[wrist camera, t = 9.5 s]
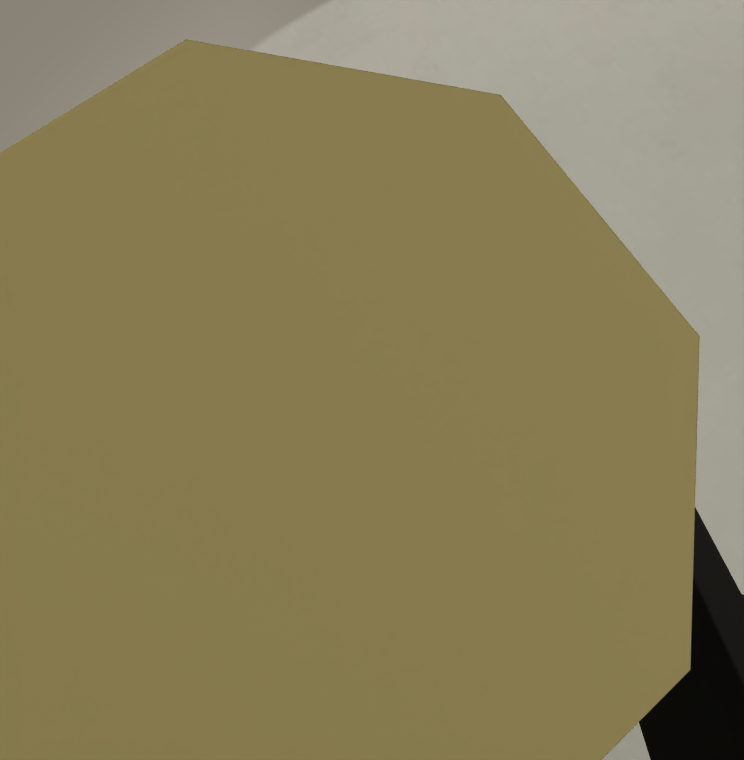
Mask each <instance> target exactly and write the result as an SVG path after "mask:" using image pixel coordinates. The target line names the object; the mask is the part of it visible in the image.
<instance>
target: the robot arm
mask: <svg viewBox="0 0 744 760" xmlns="http://www.w3.org/2000/svg"><path fill="white" fill-rule="evenodd" d="M639 724H640V727H641V730H642V733H643V736H644V740H645V743H646V746H647V749H648V752H649V756H650V759H651V760H744V595H742V594H741V593H740V591H739V589H738V587H737V585H736V583H735V581H734V579H733V578H732V576H731V574H730V572H729V570H728V568H727V566H726V564H725V563H724V561H723V559H722V557H721V555H720V553H719V551H718V549H717V547H716V546H715V544H714V542H713V540H712V538H711V536H710V534H709V532H708V531H707V529H706V527H705V525H704V523H703V521H702V519H701V517H700V515H699V514H698V512H697V510H696V508H695V521H694V557H693V593H692V629H691V665H690V671H689V672H688V673H687V674H686V675H685V676H684V677H683V678H682V679H681V680H680V681H679V682H678V683H677V684H676V685H675V686H674V687H673V688H672V689H671V690H670V691H669V692H668V693H667V694H666V695H665V696H664V697H663V698H662V699H661V700H660V701H659V702H658V703H657V704H656V705H655V706H654V707H653V708H652V709H651V710H650V711H649V712H648V713H647V714H646V715H645V716H644V717H643V718H642V719H641V720H640V721H639Z"/></svg>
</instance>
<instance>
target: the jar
mask: <svg viewBox="0 0 744 760" xmlns="http://www.w3.org/2000/svg"><path fill="white" fill-rule="evenodd" d="M699 340H700V336H699V335H698V334H697V333H696V331H695V330H694V329H693V328H692V327H691V325H690V324H689V323H688V322H687V320H686V319H685V318H684V317H683V316H682V314H681V313H680V312H679V311H678V310H677V308H676V307H675V306H674V305H673V303H672V302H671V301H670V300H669V299H668V297H667V296H666V295H665V294H664V293H663V291H662V290H661V289H660V288H659V286H658V285H657V284H656V283H655V282H654V280H653V279H652V278H651V277H650V276H649V274H648V273H647V272H646V271H645V269H644V268H643V267H642V266H641V265H640V263H639V262H638V261H637V260H636V258H635V257H634V256H633V255H632V254H631V252H630V251H629V250H628V249H627V248H626V246H625V245H624V244H623V243H622V241H621V240H620V239H619V238H618V237H617V235H616V234H615V233H614V232H613V231H612V229H611V228H610V227H609V226H608V224H607V223H606V222H605V221H604V220H603V218H602V217H601V216H600V215H599V214H598V212H597V211H596V210H595V209H594V207H593V206H592V205H591V204H590V203H589V201H588V200H587V199H586V198H585V197H584V195H583V194H582V193H581V192H580V190H579V189H578V188H577V187H576V186H575V184H574V183H573V182H572V181H571V180H570V178H569V177H568V176H567V175H566V173H565V172H564V171H563V170H562V169H561V167H560V166H559V165H558V164H557V163H556V161H555V160H554V159H553V158H552V156H551V155H550V154H549V153H548V152H547V150H546V149H545V148H544V147H543V146H542V144H541V143H540V142H539V141H538V139H537V138H536V137H535V136H534V135H533V133H532V132H531V131H530V130H529V129H528V127H527V126H526V125H525V124H524V122H523V121H522V120H521V119H520V118H519V116H518V115H517V114H516V113H515V111H514V110H513V109H512V108H511V107H510V105H509V104H508V103H507V102H506V101H505V99H504V98H503V97H502V96H501V95H498V94H493V93H487V92H481V91H476V90H470V89H464V88H459V87H453V86H447V85H442V84H436V83H430V82H425V81H419V80H413V79H408V78H402V77H396V76H391V75H385V74H379V73H374V72H368V71H362V70H357V69H351V68H345V67H340V66H334V65H328V64H323V63H317V62H311V61H306V60H300V59H294V58H289V57H283V56H277V55H272V54H266V53H260V52H255V51H249V50H243V49H237V48H232V47H226V46H220V45H215V44H209V43H204V42H198V41H192V40H184V41H183V42H181V43H179V44H178V45H176V46H174V47H173V48H171V49H170V50H168V51H166V52H165V53H163V54H161V55H160V56H158V57H156V58H155V59H153V60H152V61H150V62H148V63H147V64H145V65H143V66H142V67H140V68H139V69H137V70H135V71H133V72H132V73H130V74H129V75H127V76H125V77H124V78H122V79H120V80H119V81H117V82H115V83H114V84H112V85H111V86H109V87H107V88H106V89H104V90H102V91H101V92H99V93H98V94H96V95H94V96H93V97H91V98H89V99H88V100H86V101H84V102H83V103H81V104H79V105H78V106H76V107H75V108H73V109H71V110H70V111H68V112H67V113H65V114H63V115H62V116H60V117H58V118H57V119H55V120H53V121H52V122H50V123H48V124H47V125H45V126H43V127H42V128H40V129H39V130H37V131H35V132H34V133H32V134H30V135H29V136H27V137H25V138H24V139H22V140H21V141H19V142H17V143H16V144H14V145H12V146H11V147H9V148H7V149H6V150H4V151H3V152H1V153H0V760H602V759H603V758H604V757H605V756H606V755H607V754H608V753H609V752H610V751H611V750H612V749H613V748H614V747H615V746H616V745H617V744H618V743H619V742H620V740H621V739H622V738H623V737H624V736H625V735H626V734H627V733H628V732H629V731H630V730H631V729H632V728H633V727H634V726H635V725H636V724H637V723H638V722H639V721H640V720H641V719H642V718H643V717H644V716H645V715H646V714H647V713H648V712H649V711H650V710H651V709H652V708H653V707H654V706H655V705H656V704H657V703H658V702H659V701H660V700H661V699H662V698H663V697H664V696H665V695H666V694H667V693H668V692H669V691H670V690H671V689H672V688H673V687H674V686H675V685H676V684H677V683H678V682H679V681H680V680H681V679H682V678H683V677H684V676H685V675H686V674H687V673H688V672H689V671H690V665H691V629H692V593H693V557H694V521H695V485H696V448H697V412H698V376H699Z"/></svg>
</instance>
